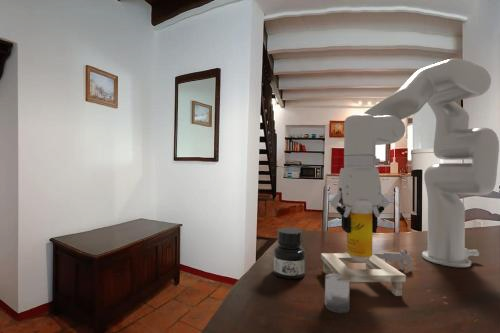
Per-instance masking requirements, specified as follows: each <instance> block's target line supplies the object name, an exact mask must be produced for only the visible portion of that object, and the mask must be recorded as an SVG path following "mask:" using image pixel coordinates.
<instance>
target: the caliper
mask: <svg viewBox="0 0 500 333" xmlns="http://www.w3.org/2000/svg"><path fill="white" fill-rule="evenodd" d="M399 250H400V252H395V251H394V252H391V251H384V252H382V253H381V252H372V254H374V255H375V256H377V257H378V258H380V259H381V260H385V261H384V262H386V263H387V262H390V263H392V262H397V264H398V266H399V268H400V270H401V271H405V264H404V261H405V263H406V267H407V270H408V273H410V272H411V271H412V270H413V268H412V263H413V262H412V261H413V260H412V258H411V254H410V253H408V252H407V249H405V250H403V249H399ZM344 253H347V251H345V252H344Z"/></svg>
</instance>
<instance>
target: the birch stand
mask: <svg viewBox="0 0 500 333" xmlns="http://www.w3.org/2000/svg"><path fill="white" fill-rule="evenodd" d="M320 259H321V260H322V263H323V264H322V265H323V266H322V267H323V268H322V269H323V270H322V271H323V273H324V274H325V275H327V274H331V272H332V274H341V275H344V276H346V277H347V278H349V280H350V283H391V293H392V294H393V295H394V296H395V297H402V296H403V283H405V282H406V280H407V279H406V277H407V275H406V274H405V273H403V272H401V271H399V269H397V268H396V267H393V266H392V265H390V264H389V263H387V262H386V261H384V259H380V258H378V257H377V256H375V255H374V254H372V256H371V257H370V259H367V260H359V259H355V258H352V257H350V256H349V254H348V253H345V252H342V253H341V252H337V253H334V252H333V253H332V252H331V253H329V252H328V253H325V252H323V253H322V252H321V253H320ZM347 264H365V269H361V268H360V269H351V268H350V267H348V266H347Z"/></svg>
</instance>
